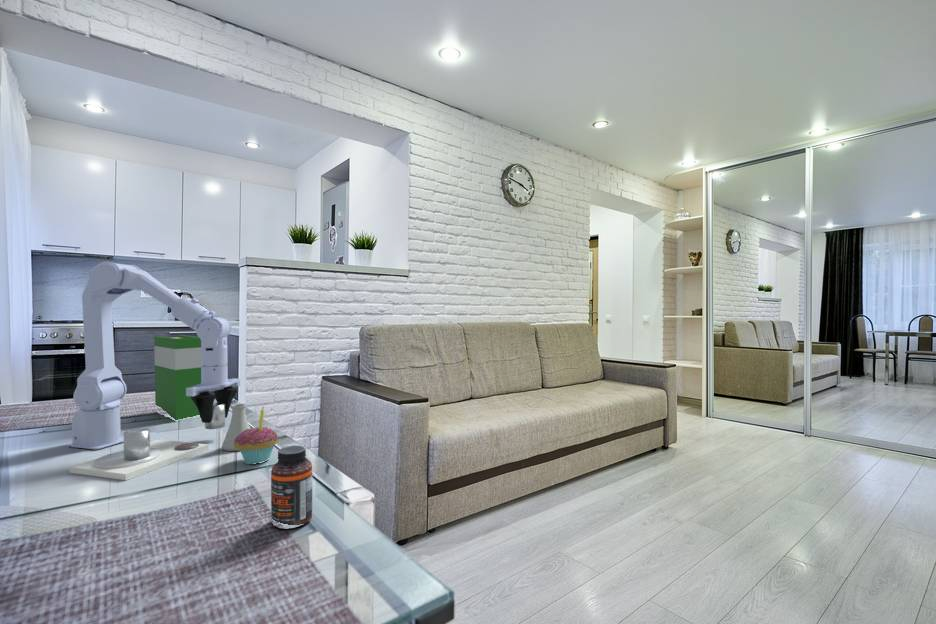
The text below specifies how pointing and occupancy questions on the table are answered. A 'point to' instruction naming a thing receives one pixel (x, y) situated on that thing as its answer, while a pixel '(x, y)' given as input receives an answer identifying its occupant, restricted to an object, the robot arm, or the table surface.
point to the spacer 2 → (217, 416)
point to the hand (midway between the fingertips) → (214, 419)
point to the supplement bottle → (291, 487)
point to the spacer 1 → (136, 444)
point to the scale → (125, 470)
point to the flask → (235, 426)
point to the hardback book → (177, 374)
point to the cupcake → (256, 442)
